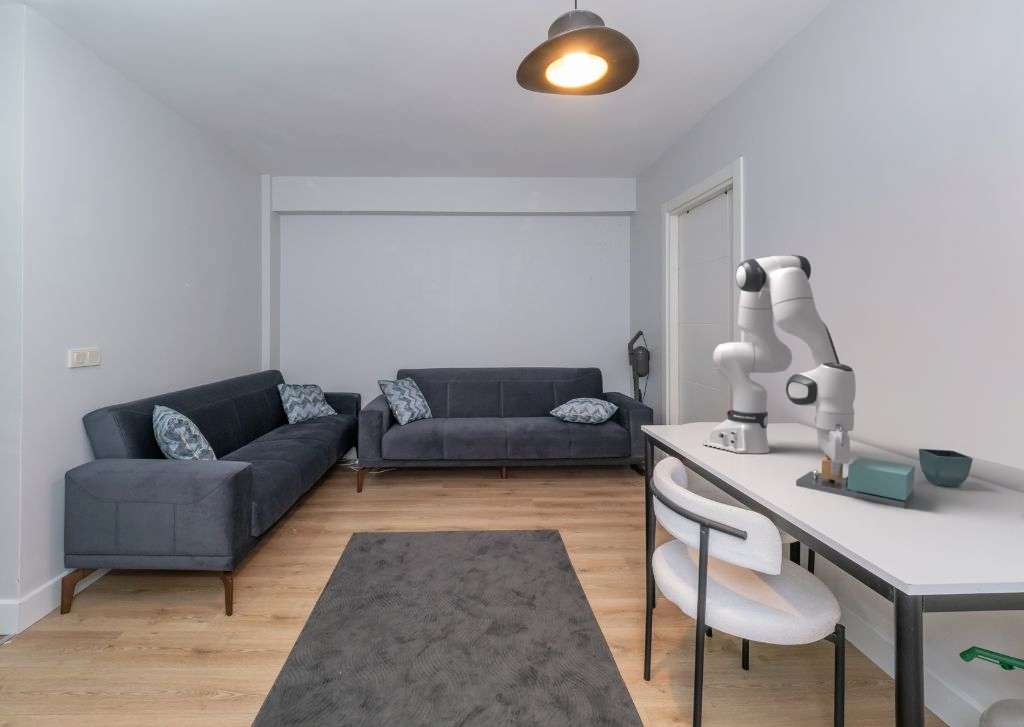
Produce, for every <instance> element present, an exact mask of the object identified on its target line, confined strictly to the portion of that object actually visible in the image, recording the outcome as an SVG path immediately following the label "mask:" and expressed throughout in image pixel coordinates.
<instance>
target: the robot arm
mask: <svg viewBox="0 0 1024 727" xmlns="http://www.w3.org/2000/svg"><path fill="white" fill-rule="evenodd" d="M811 274H812V267H811V264H810V261H809V260H808V259H807V257H805V256H803V255H797V254H792V255H772V256H766V257H761V258H751V259H750V258H749V259H747V260H744V261H742V262H740V263H739V265H738V266H737V268H736V270H735V282H736V285H737V287H738V288H739V289H740V290H741V292H740V296H739V303H738V312H737V313H738V315H737V325H738V328H739V329H740V330H741V331H742V332H744V333H745V334H748V335H750V336H752V337H754V341H749V342H748V341H730V342H724V343H719V344H718V345H717V346H716V347H715V349H714V351H713V353H712V360H713V361H712V362H713V364H714V366H715V367H716V368H717V369H718V370H719V371H721V372H722V374H724V376H725V377H727V379H728V381H729V383H730V386H731V389H732V390H731V391H732V408H731V409H729V410H727V411H725V416H727V418H726V419H725V420H723V421H722V422H720V423H718V424H717V425H715V426H714V427H713V428H711V431H710V434H709V438H707V439H705V440H703V442H702V445H703V444H704V445H703V446H705V445H707V446H706V447H709V446H712V447H711V448H713V447H716V448H715V449H717V448H721V449H720V450H722V449H725V450H724V451H726V450H729V451H728V452H730V451H733V452H732V453H734V452H737V453H736V454H767V453H770V452H771V449H770V446H769V440H768V432H767V430H768V429H767V428H768V424H769V416H768V414H769V413H768V410H767V408H768V407H767V405H768V404H767V403H768V391H767V389H766V387H764V386H763V385H761V384H760V383H758V382H756V381H753V380H752V379H751V377H750V374H754V373H755V374H756V373H757V374H758V373H760V374H773V373H774V374H775V373H780V372H785V371H786V370H788V369H789V367H790V366H791V365H792V362H793V353H792V351H791V349H790V348H789V346H788V345H787V344H785V343H783V341H781V340H780V339H779V337H778V336H777V334H776V331H775V326H774V321H775V323H776V325H777V326H778V328H779V329H781V330H782V331H783V332H784V333H787V334H789V335H792V336H795V337H797V338H798V339H800V340H802V341H803V342H805V343H806V345H808V347H809V350H810V351H811V355H812V359H813V361H814V364H815V367H816V368H814V369H810V370H808V371H805V372H799V373H795V374H793V375H791V376H790V377H789V378H788V380H787V381H786V383H785V384H786V385H785V393H786V396H787V398H788V399H789V401H790V402H791V403H793V404H794V405H797V406H803V407H809V406H813V407H814V406H815V407H816V409H815V419H814V422H815V424H814V425H815V428H816V430H817V431H816V432H817V443H818V447H819V449H821V450H822V451H823V453H824V454H823V455H824V456H823V457H829V458H830V459H831V462H832V464H831V471H830V472H831V474H832V475H839V470H840V467H841V463H843V464H849V462H850V459H851V458H850V457H851V452H850V451H851V441H850V440H851V439H850V435H849V433H848V432H852V431H854V425H855V409H854V401H855V398H856V386H857V384H856V383H857V382H856V375H855V371H854V369H853V367H851V366H849V365H847V364H843V363H840V360H839V356H838V354H837V353H838V352H837V351H836V347H835V344H834V342H833V338H832V336H831V334H830V331H829V328H828V327H827V324H826V323H825V322H824V321H823V320H822V319H821V317H820V314H819V311H818V310H817V306H816V304H815V299H814V294H813V290H812V288H811V284H810V281H809V280H810V278H811Z"/></svg>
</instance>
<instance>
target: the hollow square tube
mask: <svg viewBox="0 0 1024 727" xmlns="http://www.w3.org/2000/svg"><path fill="white" fill-rule="evenodd" d="M831 464H832V462H831V459H830V458H829V457H825V456H823V457H822V460H821V472H820V473H821V478H826V479H832V480H838V481H841V480H842V477H843V471H844V470H843V469H844V467H843V466H844V463H841V467H840V470H839V475H832V474H831V472H830V471H831Z"/></svg>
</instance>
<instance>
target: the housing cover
mask: <svg viewBox="0 0 1024 727" xmlns="http://www.w3.org/2000/svg"><path fill="white" fill-rule="evenodd" d="M915 470H916V466H915V465H913V464H905V463H899V462H893V461H888V460H887V461H886V460H882V459H881V460H880V459H875V458H868V457H861V456H859V457H858V458H856V459H855V460H853V461H852V462H851V463H850V464H849V463H848V470H847V472H848V473H847V477H848V487H847V489H850V490H855V491H860V492H865V493H870V494H875V495H880V496H885V497H890V498H895V499H900V500H906V499H907V498H908V496H909V495H910V494H911V492H912V491H914V490H915V489H914V488H915V487H914V486H915Z"/></svg>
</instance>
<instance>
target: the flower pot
mask: <svg viewBox="0 0 1024 727" xmlns="http://www.w3.org/2000/svg"><path fill="white" fill-rule="evenodd" d="M918 457H919V458H918V459H919V464H920V469H921V472H922V474H923V475H924V478H925V479H926V480H927V481H928V482H930V483H933V484H934V485H936V486H938V487H941V486H942V487H953V488H957V487H960V486H961V485H962V484H963V483H964V482H965V481H966V480H967V478H968V477H969V475H970V471H971V467H972V464H973V459H974V457H971V456H969V455H966V454H963V453H960V452H958V451H955V450H949V449H947V450H946V449H931V448H929V449H928V448H918Z"/></svg>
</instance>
